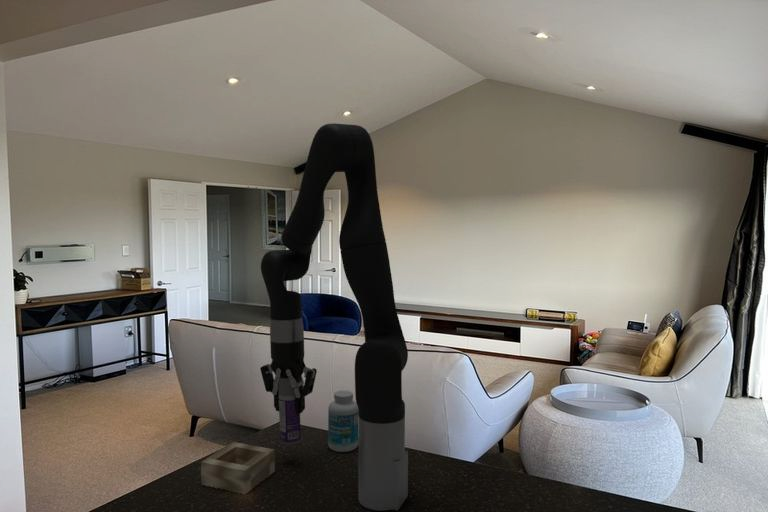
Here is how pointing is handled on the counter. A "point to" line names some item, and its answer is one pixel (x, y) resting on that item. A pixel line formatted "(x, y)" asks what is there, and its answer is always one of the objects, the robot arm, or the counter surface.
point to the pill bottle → (343, 422)
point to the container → (288, 413)
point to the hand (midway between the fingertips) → (289, 411)
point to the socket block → (238, 467)
